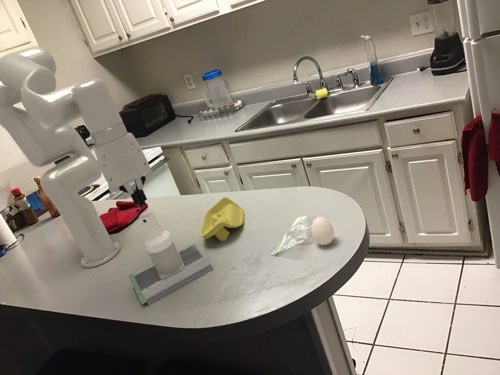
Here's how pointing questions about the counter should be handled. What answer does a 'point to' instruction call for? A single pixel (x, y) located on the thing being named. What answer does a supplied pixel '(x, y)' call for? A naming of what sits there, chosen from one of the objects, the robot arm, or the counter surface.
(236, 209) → the plastic component
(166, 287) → the rail cradle
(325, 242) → the egg
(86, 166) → the robot arm
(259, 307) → the counter surface
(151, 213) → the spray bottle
